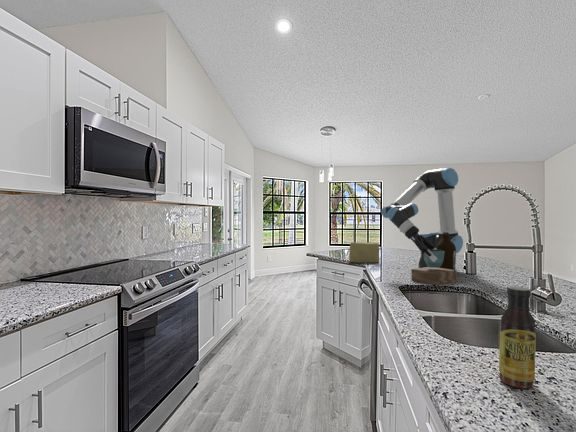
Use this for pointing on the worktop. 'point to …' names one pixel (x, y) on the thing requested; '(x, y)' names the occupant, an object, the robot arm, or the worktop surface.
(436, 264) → the flower pot
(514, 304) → the sauce bottle
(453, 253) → the olive oil
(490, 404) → the worktop surface
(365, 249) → the cheese
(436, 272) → the walnut base
